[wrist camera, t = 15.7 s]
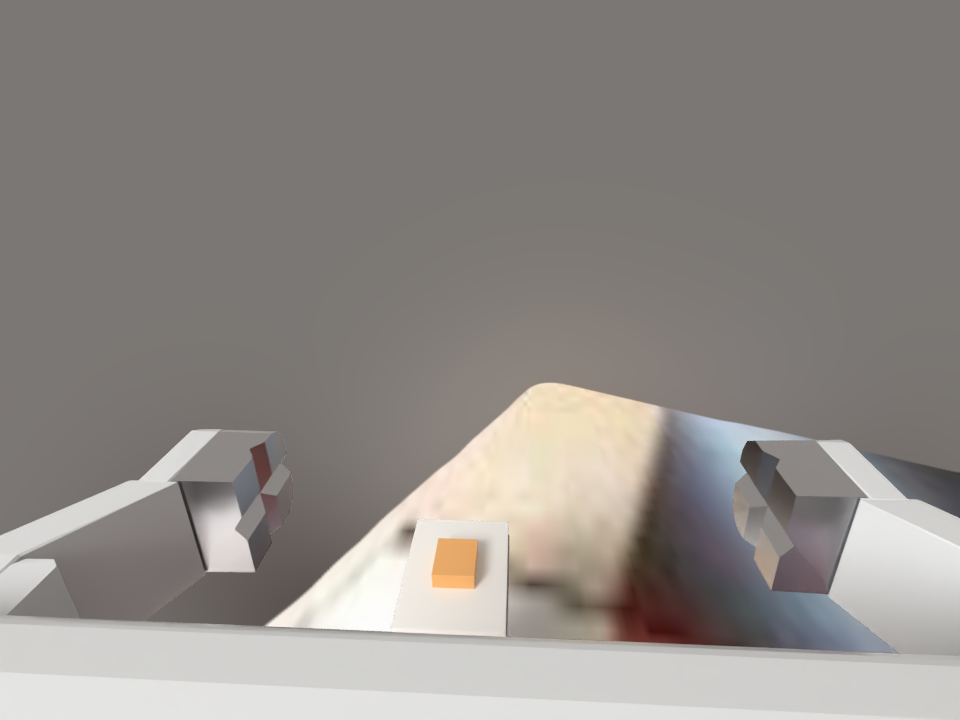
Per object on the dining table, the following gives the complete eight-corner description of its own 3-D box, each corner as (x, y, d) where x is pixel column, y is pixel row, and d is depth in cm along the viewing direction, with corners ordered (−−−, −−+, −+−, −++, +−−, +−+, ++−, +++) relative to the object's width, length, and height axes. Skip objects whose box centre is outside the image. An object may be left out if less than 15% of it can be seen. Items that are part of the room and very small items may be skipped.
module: (506, 818, 29) (506, 620, 23) (412, 812, 29) (387, 615, 23) (509, 690, 35) (509, 509, 29) (431, 686, 36) (416, 507, 30)
